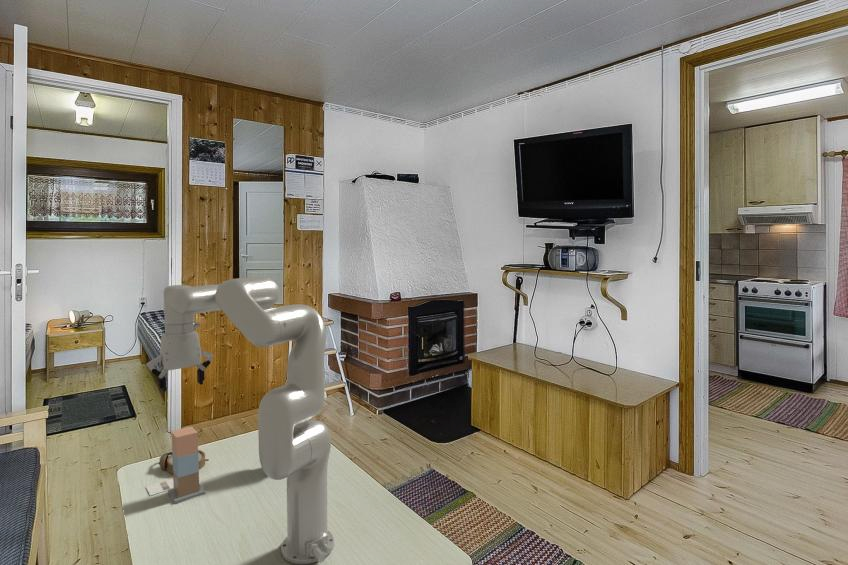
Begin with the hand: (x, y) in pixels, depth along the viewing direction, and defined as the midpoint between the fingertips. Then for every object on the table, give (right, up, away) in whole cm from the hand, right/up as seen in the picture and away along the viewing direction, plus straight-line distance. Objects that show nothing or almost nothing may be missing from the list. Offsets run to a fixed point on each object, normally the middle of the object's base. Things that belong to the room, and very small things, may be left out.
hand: (182, 386), depth 134 cm
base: (0, -32, +3) cm, 32 cm away
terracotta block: (0, -19, +2) cm, 20 cm away
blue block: (0, -25, +3) cm, 26 cm away
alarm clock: (-10, -31, +19) cm, 38 cm away
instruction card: (-9, -32, +7) cm, 34 cm away
